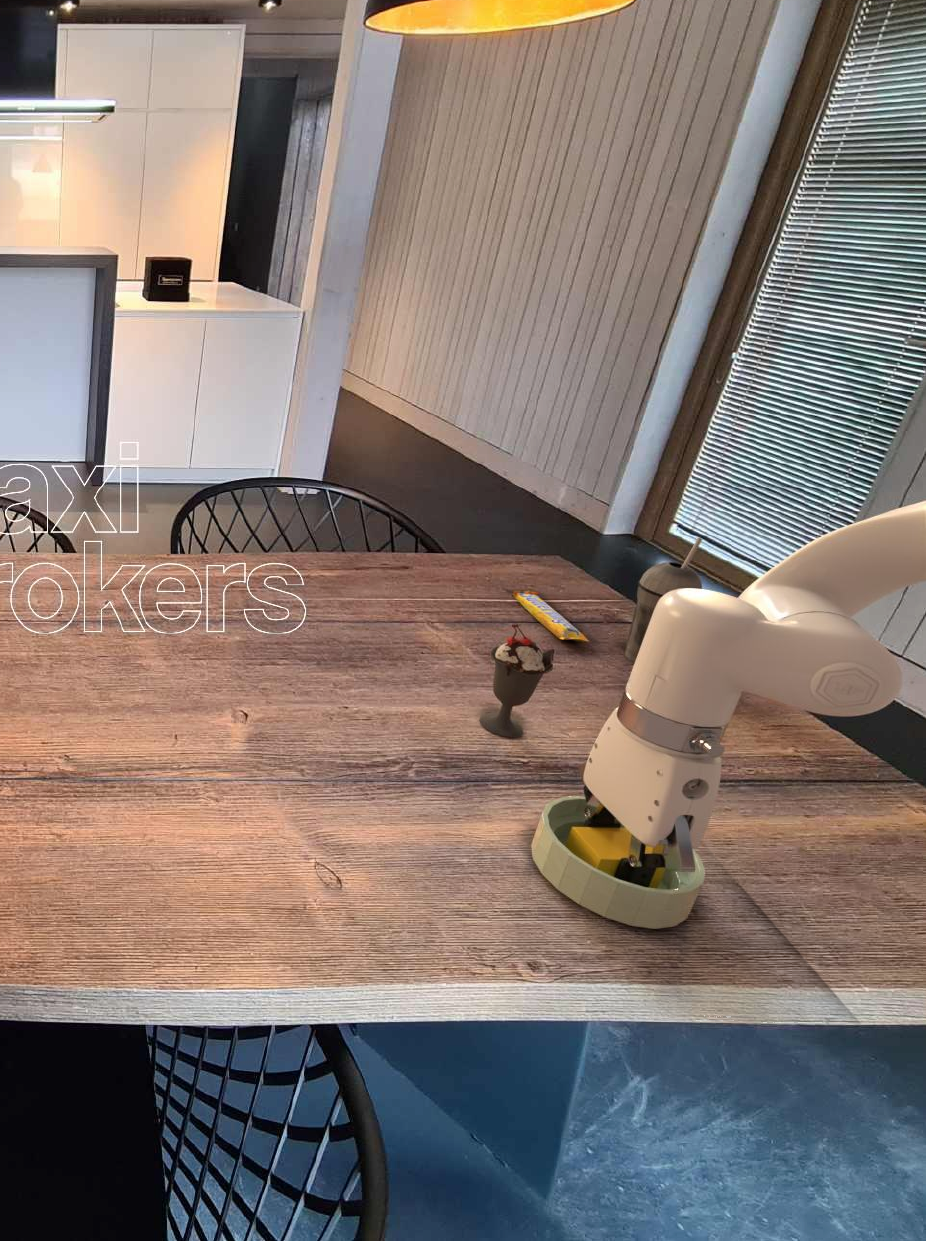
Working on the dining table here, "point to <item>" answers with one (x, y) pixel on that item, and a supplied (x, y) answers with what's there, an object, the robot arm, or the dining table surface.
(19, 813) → the dining table surface
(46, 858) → the dining table surface
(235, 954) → the dining table surface
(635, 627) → the beverage cup
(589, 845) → the sponge
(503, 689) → the sundae
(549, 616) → the candy bar
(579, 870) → the bowl
